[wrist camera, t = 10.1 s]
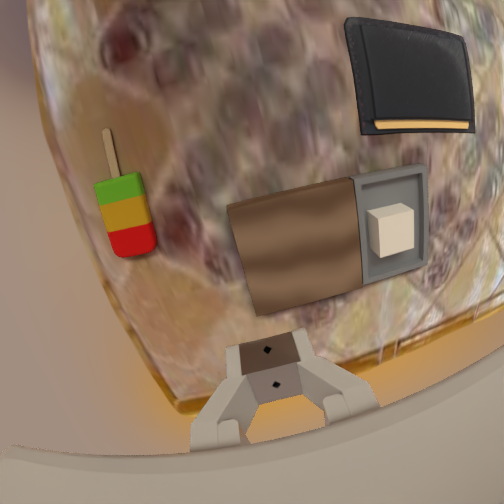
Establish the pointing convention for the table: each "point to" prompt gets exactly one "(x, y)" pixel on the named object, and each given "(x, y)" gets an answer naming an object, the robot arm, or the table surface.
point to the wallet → (409, 78)
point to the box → (385, 194)
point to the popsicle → (125, 208)
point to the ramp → (298, 244)
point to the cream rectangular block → (391, 229)
